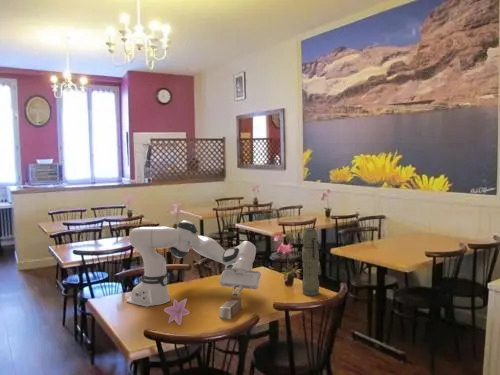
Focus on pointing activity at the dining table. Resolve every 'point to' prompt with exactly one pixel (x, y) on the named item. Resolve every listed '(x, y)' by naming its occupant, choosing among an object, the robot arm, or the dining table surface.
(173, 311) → the lily
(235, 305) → the grey rectangular block
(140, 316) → the dining table surface
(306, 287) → the thermos
